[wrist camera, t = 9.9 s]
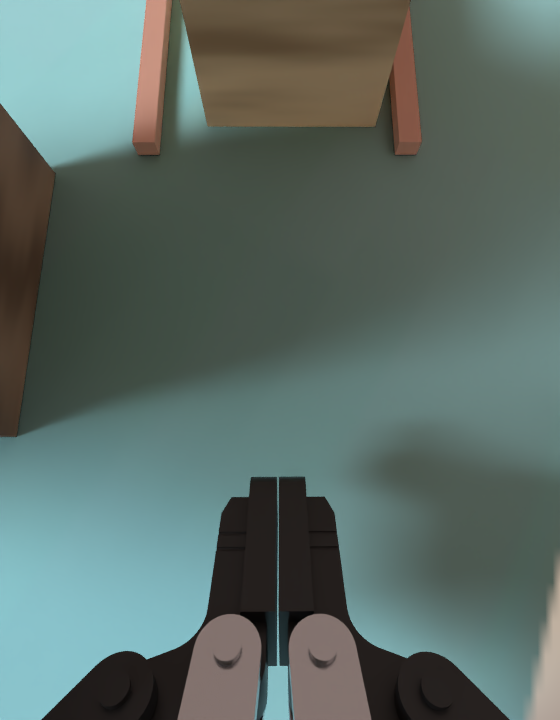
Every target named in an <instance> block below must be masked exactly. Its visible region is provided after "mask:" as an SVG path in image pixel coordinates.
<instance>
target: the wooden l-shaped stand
mask: <svg viewBox="0 0 560 720" xmlns="http://www.w3.org/2000/svg"><path fill="white" fill-rule="evenodd" d="M54 180H55V172H54V171H53V170H52V169H51V167H50V166H49V165H48V163H47V162H46V161H45V160H44V158H43V157H42V156H41V155H40V153H39V152H38V151H37V149H36V148H35V147H34V146H33V144H32V143H31V142H30V141H29V139H28V138H27V137H26V135H25V134H24V133H23V132H22V130H21V129H20V128H19V127H18V125H17V124H16V123H15V122H14V120H13V119H12V118H11V116H10V115H9V114H8V113H7V111H6V110H5V109H4V108H3V106H2V105H1V104H0V437H17V431H18V424H19V417H20V411H21V404H22V397H23V390H24V383H25V377H26V370H27V363H28V356H29V350H30V343H31V336H32V329H33V322H34V316H35V309H36V302H37V295H38V289H39V282H40V275H41V268H42V261H43V255H44V248H45V241H46V234H47V228H48V221H49V214H50V207H51V200H52V194H53V187H54Z"/></svg>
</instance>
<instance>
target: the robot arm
mask: <svg viewBox="0 0 560 720" xmlns="http://www.w3.org/2000/svg"><path fill="white" fill-rule="evenodd" d="M277 553H278V511H277V477H251V481H250V493H249V497H231V499H230V501H229V502H228V504H227V505H226V507H225V509H224V510H223V512H222V514H221V521H220V528H219V535H218V542H217V551H216V555H215V562H214V569H213V576H212V583H211V590H210V597H209V604H208V610H207V615H206V617H205V620H204V622H203V624H202V626H201V627H200V629H199V630H198V632H197V633H196V634H195V635H194V636H193V637H192V638H191V639H190V640H189V641H188V642H187V643H185V644H183V645H182V646H180V647H178V648H176V649H174V650H171V651H168V652H166V653H163V654H160V655H158V656H155V657H152V658H150V659H147V660H146V659H145V658H144V657H143V656H142V655H140V654H138V653H136V652H132V651H123V652H118V653H115V654H113V655H110V656H108V657H107V658H105V659H104V660H102V661H101V662H100V663H99V664H97V665H96V666H95V667H94V668H93V669H92V670H91V671H90V672H89V673H88V674H87V675H86V676H85V677H84V678H83V679H82V680H81V681H80V682H79V683H78V684H77V685H76V686H75V687H74V688H73V689H72V690H71V691H70V692H69V693H68V694H67V695H66V696H65V697H64V698H63V699H62V700H61V701H60V702H59V703H58V704H57V705H56V706H55V707H54V708H53V709H52V710H51V711H50V712H49V713H48V714H47V715H46V716H45V717H44V718H43V719H42V720H264V713H265V708H266V704H267V687H268V666H277ZM279 657H280V666H288V710H289V720H509V719H508V718H507V717H506V716H505V715H504V714H503V713H502V712H501V711H500V710H499V709H498V708H497V707H496V706H495V705H494V704H493V703H492V702H491V701H490V700H489V699H488V698H487V697H486V696H485V695H484V694H483V693H482V692H481V691H480V690H479V689H478V688H477V687H476V686H475V685H474V684H473V683H472V682H471V681H470V680H469V679H468V678H467V677H466V676H465V675H464V674H463V673H462V672H461V671H460V670H459V669H458V668H457V667H456V666H455V665H454V664H453V663H452V662H451V661H449V660H448V659H446V658H445V657H443V656H440V655H438V654H435V653H432V652H419V653H415V654H413V655H411V656H410V657H409V658H405V657H402V656H400V655H397V654H394V653H391V652H389V651H386V650H383V649H381V648H378V647H376V646H374V645H372V644H371V643H369V642H368V641H367V640H365V639H364V638H363V637H362V636H361V635H360V634H359V633H358V632H357V630H356V629H355V627H354V626H353V624H352V622H351V620H350V617H349V615H348V610H347V604H346V597H345V589H344V582H343V574H342V567H341V559H340V552H339V544H338V537H337V529H336V522H335V514H334V511H333V510H332V508H331V506H330V505H329V503H328V502H327V500H326V498H325V497H306V484H305V477H279Z"/></svg>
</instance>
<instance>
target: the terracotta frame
mask: <svg viewBox="0 0 560 720" xmlns="http://www.w3.org/2000/svg"><path fill="white" fill-rule="evenodd" d="M171 8H172V0H146V10H145V20H144V30H143V40H142V50H141V60H140V70H139V80H138V90H137V100H136V110H135V120H134V130H133V140H132V143H133V145H134V147H135V149H136V151H137V153H138V155H160V143H161V131H162V118H163V106H164V94H165V81H166V69H167V57H168V45H169V32H170V20H171ZM389 82H390V95H391V109H392V123H393V137H394V150H395V155H416V154H417V152H418V150H419V147H420V145H421V143H422V138H421V127H420V116H419V105H418V94H417V84H416V73H415V62H414V51H413V40H412V29H411V18H410V7H409V8H408V12H407V15H406V19H405V22H404V26H403V30H402V33H401V37H400V40H399V44H398V47H397V51H396V55H395V58H394V62H393V65H392V69H391V72H390V76H389Z"/></svg>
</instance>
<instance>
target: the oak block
mask: <svg viewBox="0 0 560 720" xmlns="http://www.w3.org/2000/svg"><path fill="white" fill-rule="evenodd" d="M410 1H411V0H180V4H181V8H182V13H183V17H184V22H185V26H186V31H187V35H188V40H189V44H190V49H191V53H192V58H193V62H194V67H195V71H196V76H197V81H198V85H199V90H200V94H201V99H202V103H203V108H204V112H205V117H206V121H207V126H208V127H375V126H376V122H377V119H378V115H379V112H380V108H381V105H382V101H383V97H384V94H385V90H386V87H387V83H388V80H389V76H390V72H391V69H392V65H393V62H394V58H395V55H396V51H397V47H398V44H399V40H400V37H401V33H402V30H403V26H404V22H405V19H406V15H407V12H408V8H409V5H410Z"/></svg>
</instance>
